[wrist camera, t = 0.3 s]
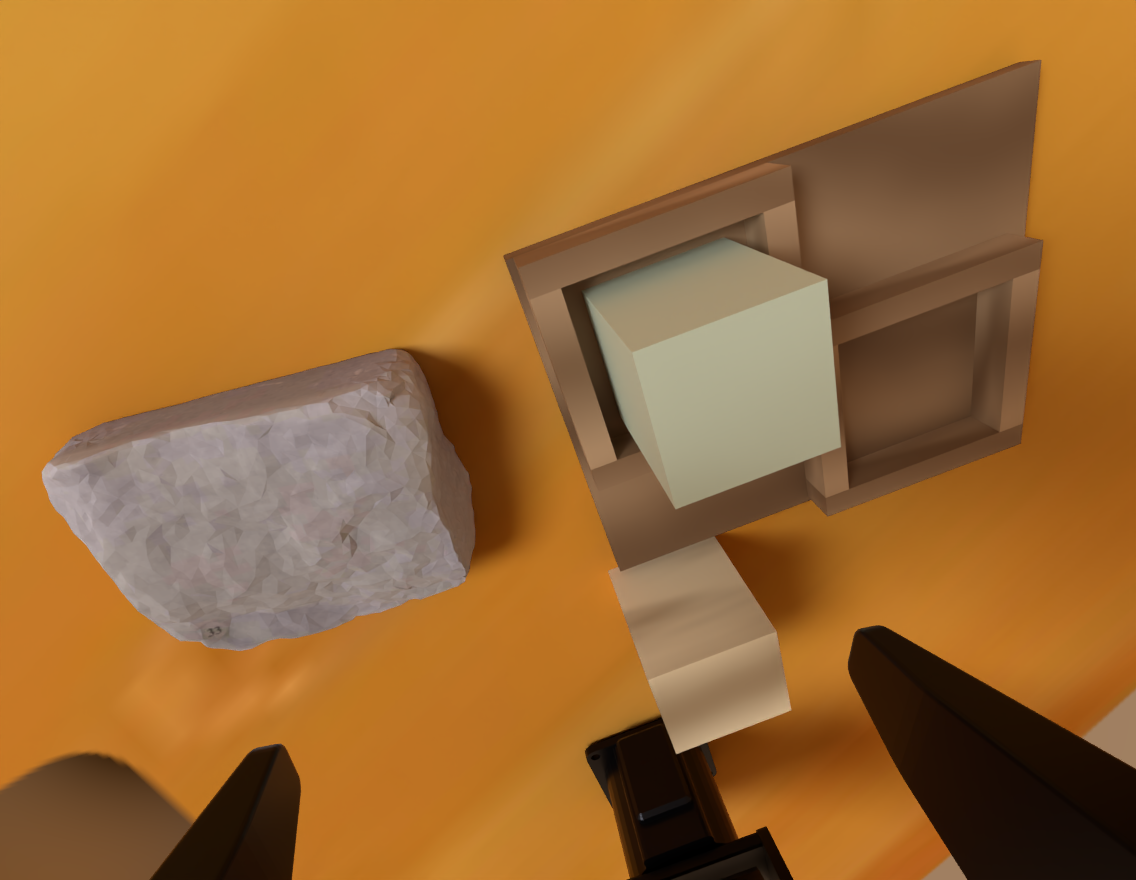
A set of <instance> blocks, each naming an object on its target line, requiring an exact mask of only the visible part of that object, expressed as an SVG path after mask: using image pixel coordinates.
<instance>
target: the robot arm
mask: <svg viewBox="0 0 1136 880" xmlns="http://www.w3.org/2000/svg"><path fill="white" fill-rule="evenodd" d="M848 670H849V674H850V677H851V679H852V682H853V683H854V685H855V687H856V689H857V691H858V693H859V695H860V697H861V699H862V701H863V703H864V705H865V707H866V709H867V711H868V713H869V715H870V717H871V719H872V721H873V723H874V724H875V726H876V728H877V730H878V732H879V734H880V736H881V738H882V740H883V742H884V744H885V746H886V748H887V750H888V752H889V754H890V756H891V757H892V759H893V761H894V763H895V765H896V767H897V768H898V770H899V772H900V774H901V775H902V777H903V779H904V780H905V782H906V784H907V785H908V787H909V788H910V790H911V791H912V793H913V795H914V796H915V798H916V799H917V801H918V803H919V804H920V806H921V807H922V809H923V810H924V812H925V814H926V815H927V817H928V818H929V820H930V821H931V823H932V825H933V826H934V828H935V829H936V831H937V832H938V834H939V836H940V837H941V839H942V840H943V842H944V844H945V845H946V847H947V848H948V850H949V851H950V853H951V855H952V856H953V857H954V859H955V861H956V862H957V864H958V866H959V867H960V869H961V870H962V872H963V873H964V875H965V876H966V878H967V880H1136V769H1135V768H1133V767H1132V766H1130V765H1128V764H1126V763H1124V762H1123V761H1121V760H1119V759H1117V758H1115V757H1114V756H1112V755H1111V754H1109V753H1107V752H1105V751H1103V750H1102V749H1100V748H1098V747H1096V746H1095V745H1093V744H1091V743H1089V742H1088V741H1086V740H1084V739H1082V738H1081V737H1079V736H1077V735H1075V734H1073V733H1072V732H1070V731H1068V730H1066V729H1065V728H1063V727H1061V726H1059V725H1058V724H1056V723H1054V722H1052V721H1051V720H1049V719H1047V718H1045V717H1044V716H1042V715H1040V714H1038V713H1036V712H1035V711H1033V710H1031V709H1029V708H1028V707H1026V706H1024V705H1022V704H1021V703H1019V702H1017V701H1015V700H1014V699H1012V698H1010V697H1008V696H1006V695H1005V694H1003V693H1001V692H999V691H998V690H996V689H994V688H992V687H991V686H989V685H987V684H985V683H984V682H982V681H980V680H978V679H976V678H975V677H973V676H971V675H969V674H968V673H966V672H964V671H962V670H961V669H959V668H957V667H955V666H954V665H952V664H950V663H948V662H947V661H945V660H943V659H941V658H939V657H938V656H936V655H934V654H932V653H931V652H929V651H927V650H925V649H924V648H922V647H920V646H918V645H917V644H915V643H913V642H911V641H909V640H908V639H906V638H904V637H902V636H901V635H899V634H897V633H895V632H894V631H892V630H890V629H888V628H886V627H884V626H880V625H878V626H871V627H866V628H861V629H858V630H857V631H856V632H855V634H854V638H853V642H852V647H851V651H850V656H849V660H848ZM585 754H586V758H587V762H588V763H589V765H590V767H591V769H592V771H593V773H594V775H595V776H596V778H597V780H598V782H599V784H600V786H601V788H602V789H603V791H604V793H605V795H606V797H607V799H608V801H609V803H610V804H611V806H612V808H613V811H614V815H615V819H616V823H617V827H618V831H619V835H620V839H621V843H622V848H623V852H624V856H625V860H626V864H627V868H628V872H629V876H630V879H627V880H793V878H792V876H791V874H790V872H789V870H788V868H787V866H786V864H785V862H784V860H783V858H782V856H781V854H780V852H779V850H778V848H777V846H776V844H775V842H774V840H773V838H772V836H771V834H770V832H769V830H768V828H767V827H763V828H760V829H758V830H756V833H753V834H751V835H748V836H745V837H742V838H740V839H738V836H737V834H736V831H735V829H734V826H733V824H732V822H731V819H730V817H729V814H728V812H727V809H726V807H725V804H724V802H723V800H722V797H721V795H720V792H719V790H718V787H717V785H716V782H715V780H714V778H713V777H714V776H715V775H716V768H715V765H714V762H713V759H712V756H711V753H710V750H709V747H708V744H707V743H704V744H702V745H699V746H696V747H694V748H691V749H688V750H686V751H683V752H681V753H678V754H676V752H675V749H674V747H673V744H672V742H671V739H670V736H669V734H668V731H667V729H666V726H665V724H664V721H663V718H662V719H660V720H657V721H654V722H652V723H649V724H647V725H644V726H641V727H639V728H636V729H633V730H631V731H628V732H625V733H623V734H620V735H618V736H615V737H612V738H610V739H607V740H604V741H602V742H599V743H596V744H594V745H591V746H589V747H588V748H587V749H586V751H585ZM300 795H301V785H300V778H299V775H298V773H297V771H296V769H295V767H294V764H293V762H292V760H291V758H290V756H289V754H288V752H287V749H286V748H285V746H283V745H282V744H274V745H269V746H264V747H259V748H256V749H253V750H252V751H251V752H249V753H248V754H247V755H246V757H245V758H244V759H243V760H242V762H241V763H240V764H239V766H238V767H237V768H236V769H235V771H234V772H233V773H232V775H231V776H230V777H229V778H228V780H227V781H226V782H225V784H224V785H223V786H222V787H221V789H220V790H219V791H218V793H217V794H216V795H215V796H214V798H213V799H212V800H211V801H210V803H209V804H208V805H207V807H206V808H205V809H204V810H203V812H202V813H201V814H200V816H199V817H198V818H197V819H196V821H195V822H194V823H193V825H192V826H191V827H190V829H189V830H188V831H187V832H186V834H185V835H184V836H183V837H182V839H181V840H180V841H179V842H178V844H177V845H176V846H175V848H174V849H173V850H172V852H171V853H170V854H169V855H168V857H167V858H166V859H165V861H164V862H163V863H162V864H161V866H160V867H159V868H158V870H157V871H156V872H155V873H154V875H153V876H152V877H151V878H150V880H292V872H293V862H294V853H295V843H296V833H297V824H298V814H299V805H300Z"/></svg>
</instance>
